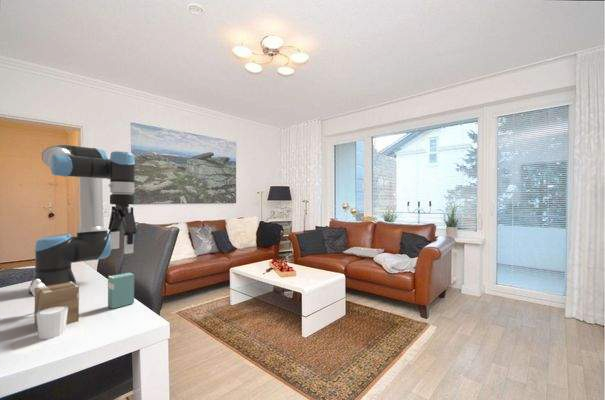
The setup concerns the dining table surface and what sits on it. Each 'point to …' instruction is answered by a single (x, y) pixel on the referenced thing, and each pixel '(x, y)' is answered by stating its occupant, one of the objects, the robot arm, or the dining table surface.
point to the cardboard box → (58, 299)
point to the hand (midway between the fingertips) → (121, 251)
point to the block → (120, 290)
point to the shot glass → (52, 322)
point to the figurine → (36, 286)
